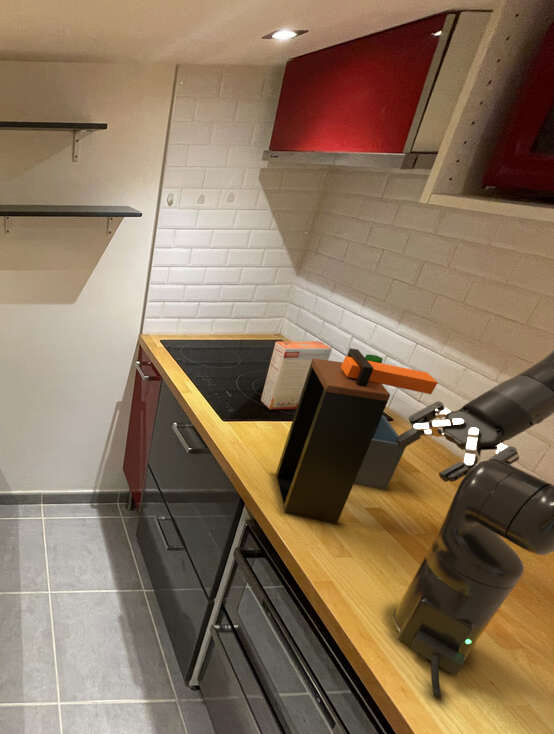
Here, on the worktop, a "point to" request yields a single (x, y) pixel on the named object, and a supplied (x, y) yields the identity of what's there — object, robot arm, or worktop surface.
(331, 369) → the box
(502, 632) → the worktop surface
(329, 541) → the worktop surface
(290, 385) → the cracker box
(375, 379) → the bar
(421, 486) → the worktop surface
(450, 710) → the worktop surface
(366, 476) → the blue open bin
